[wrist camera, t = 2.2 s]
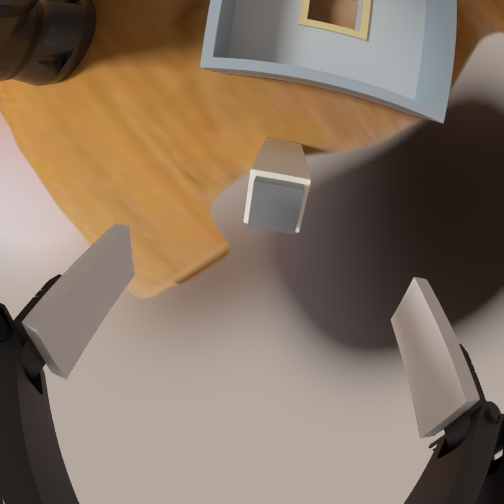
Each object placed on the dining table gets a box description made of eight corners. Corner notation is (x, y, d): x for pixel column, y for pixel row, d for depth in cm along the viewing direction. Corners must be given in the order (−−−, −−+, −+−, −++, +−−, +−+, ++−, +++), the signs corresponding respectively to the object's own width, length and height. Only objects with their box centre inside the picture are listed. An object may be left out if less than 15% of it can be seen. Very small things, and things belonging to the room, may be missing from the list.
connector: (261, 170, 32) (241, 230, 19) (266, 137, 30) (248, 173, 17) (295, 176, 32) (299, 240, 19) (301, 144, 29) (312, 185, 17)
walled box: (221, 73, 26) (199, 67, 19) (245, -60, 15) (233, -92, 8) (410, 114, 25) (443, 123, 19) (425, -18, 15) (454, -36, 8)
